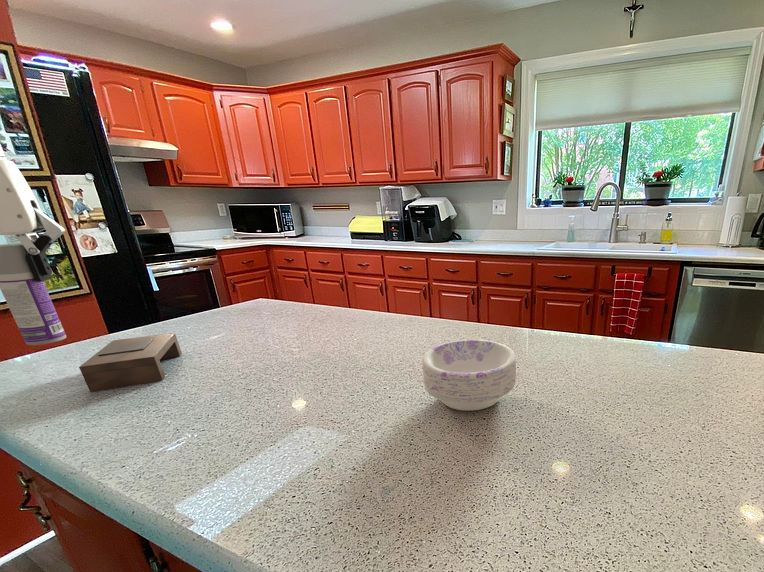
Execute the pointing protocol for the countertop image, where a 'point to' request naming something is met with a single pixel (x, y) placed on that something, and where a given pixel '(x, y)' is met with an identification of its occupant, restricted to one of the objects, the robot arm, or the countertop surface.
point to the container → (28, 298)
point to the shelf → (129, 362)
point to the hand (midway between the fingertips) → (20, 280)
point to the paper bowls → (469, 373)
